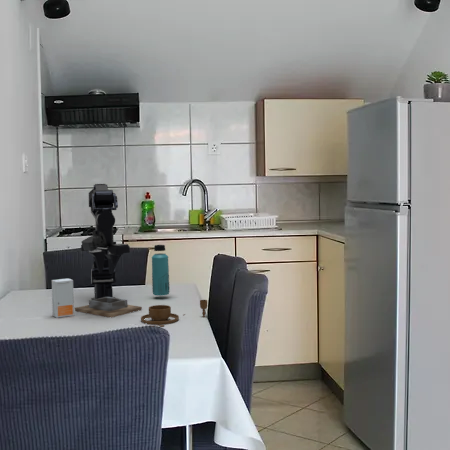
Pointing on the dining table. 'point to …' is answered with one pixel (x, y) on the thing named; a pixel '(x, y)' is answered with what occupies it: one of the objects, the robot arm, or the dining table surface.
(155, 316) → the place setting
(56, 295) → the skincare box
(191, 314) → the dining table surface
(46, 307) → the dining table surface
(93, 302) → the duct collar
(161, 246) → the beverage bottle
